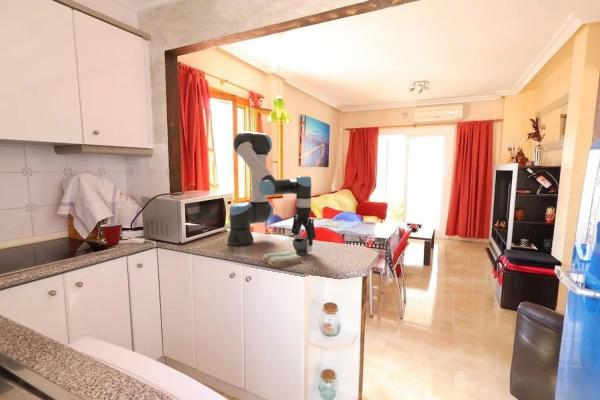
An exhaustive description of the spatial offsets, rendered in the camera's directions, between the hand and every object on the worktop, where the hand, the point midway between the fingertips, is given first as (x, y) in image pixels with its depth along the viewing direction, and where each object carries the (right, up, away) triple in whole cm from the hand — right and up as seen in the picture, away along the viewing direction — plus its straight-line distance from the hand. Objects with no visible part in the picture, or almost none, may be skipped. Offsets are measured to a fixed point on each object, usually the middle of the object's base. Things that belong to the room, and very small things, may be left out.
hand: (302, 249), depth 152 cm
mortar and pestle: (0, -2, 0) cm, 2 cm away
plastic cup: (-108, 0, +15) cm, 110 cm away
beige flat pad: (-11, -4, -12) cm, 16 cm away
